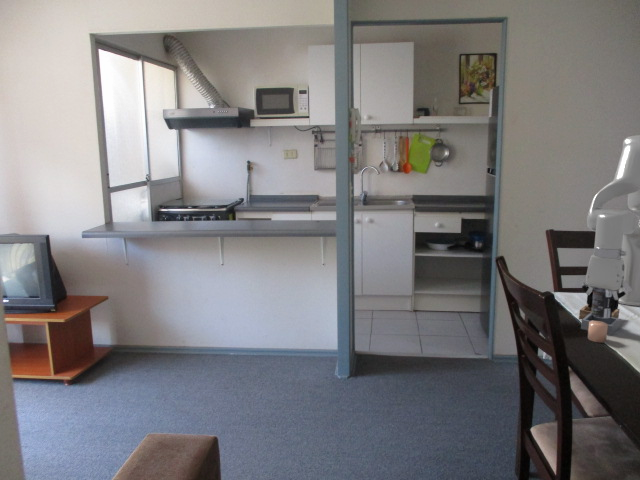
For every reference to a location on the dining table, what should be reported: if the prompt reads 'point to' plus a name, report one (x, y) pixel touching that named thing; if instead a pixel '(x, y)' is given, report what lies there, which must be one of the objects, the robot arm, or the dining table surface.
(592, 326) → the peach rounded capsule
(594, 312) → the pill bottle
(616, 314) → the brown wooden open tray
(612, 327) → the gray square open tray
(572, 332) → the dining table surface
